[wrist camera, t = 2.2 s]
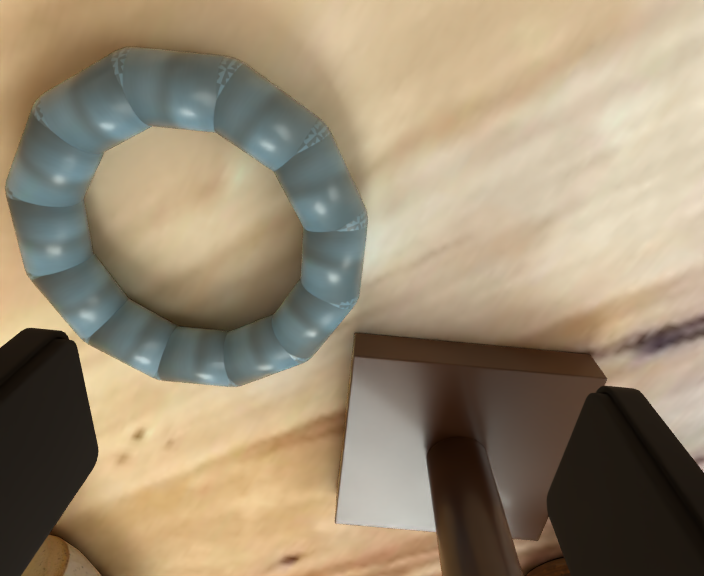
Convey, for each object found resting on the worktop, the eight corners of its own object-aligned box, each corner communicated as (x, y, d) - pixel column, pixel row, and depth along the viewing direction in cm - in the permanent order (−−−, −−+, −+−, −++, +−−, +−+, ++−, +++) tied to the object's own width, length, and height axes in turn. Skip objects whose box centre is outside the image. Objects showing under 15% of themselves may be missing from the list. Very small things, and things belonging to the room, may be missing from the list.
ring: (70, 349, 18) (39, 381, 17) (-1, 31, 13) (-57, 29, 12) (349, 374, 19) (348, 409, 17) (383, 70, 14) (385, 73, 12)
